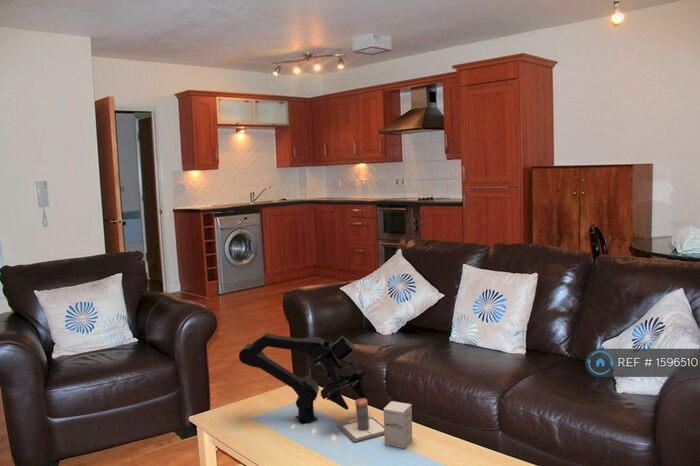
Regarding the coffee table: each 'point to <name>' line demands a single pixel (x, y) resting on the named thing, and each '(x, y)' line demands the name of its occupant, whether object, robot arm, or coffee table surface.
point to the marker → (362, 414)
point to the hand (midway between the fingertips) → (356, 404)
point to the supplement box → (398, 424)
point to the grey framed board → (358, 435)
